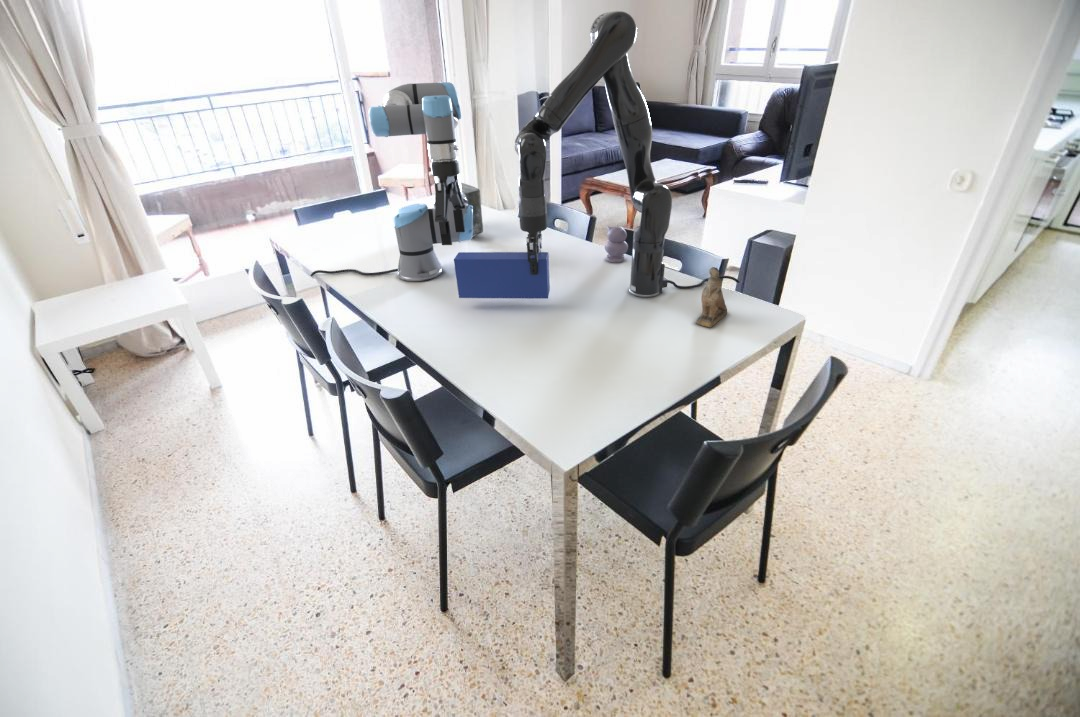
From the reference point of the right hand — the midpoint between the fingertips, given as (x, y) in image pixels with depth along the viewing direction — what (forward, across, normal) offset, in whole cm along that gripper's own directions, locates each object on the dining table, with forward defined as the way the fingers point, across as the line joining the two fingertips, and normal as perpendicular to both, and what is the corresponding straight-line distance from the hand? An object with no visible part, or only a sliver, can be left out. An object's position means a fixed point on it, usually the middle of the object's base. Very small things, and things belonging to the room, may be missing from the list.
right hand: (535, 269), depth 143 cm
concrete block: (+12, +71, +40) cm, 83 cm away
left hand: (-8, +3, +24) cm, 26 cm away
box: (+8, 0, +10) cm, 12 cm away
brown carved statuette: (+12, -5, -50) cm, 52 cm away
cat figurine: (+12, +41, -24) cm, 49 cm away
